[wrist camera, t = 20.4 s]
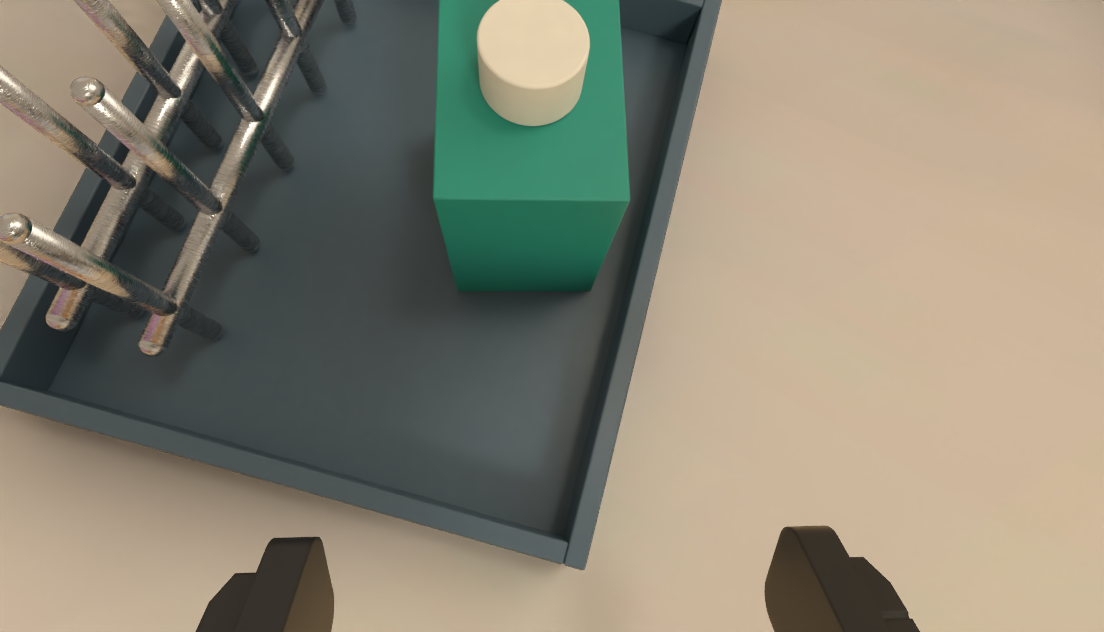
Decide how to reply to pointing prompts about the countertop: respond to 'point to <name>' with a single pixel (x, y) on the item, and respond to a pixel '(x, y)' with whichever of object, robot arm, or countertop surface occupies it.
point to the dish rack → (160, 161)
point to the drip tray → (373, 296)
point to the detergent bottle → (529, 141)
